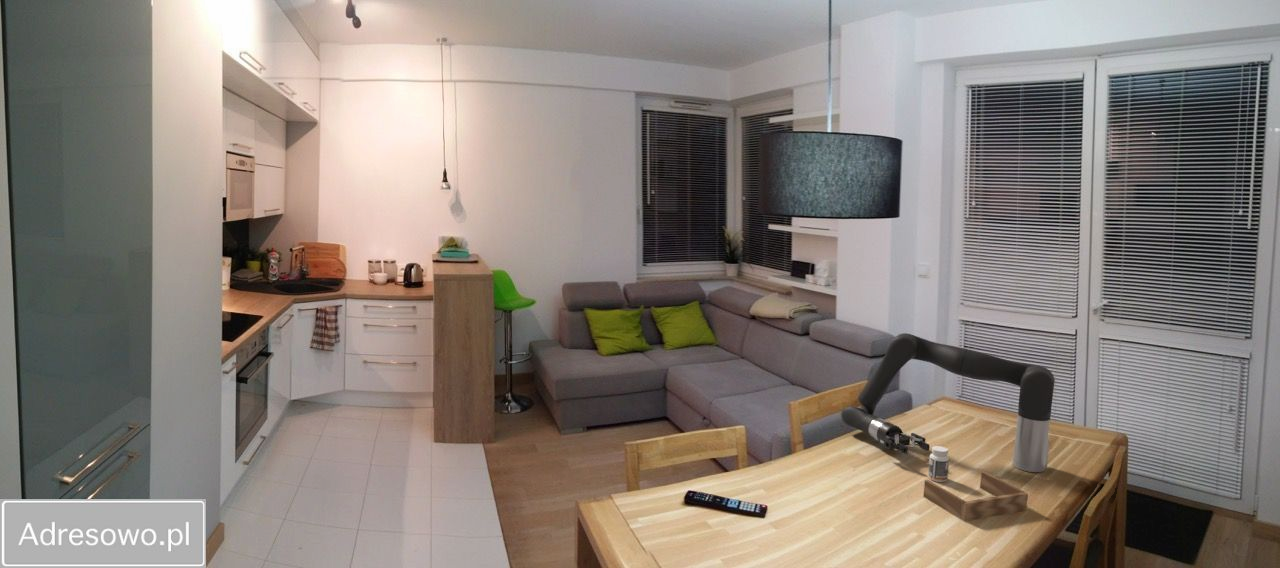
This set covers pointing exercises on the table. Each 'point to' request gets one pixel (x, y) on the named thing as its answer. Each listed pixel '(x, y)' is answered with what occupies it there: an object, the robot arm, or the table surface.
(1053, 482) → the table surface
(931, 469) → the pill bottle
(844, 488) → the table surface
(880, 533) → the table surface
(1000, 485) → the frame
